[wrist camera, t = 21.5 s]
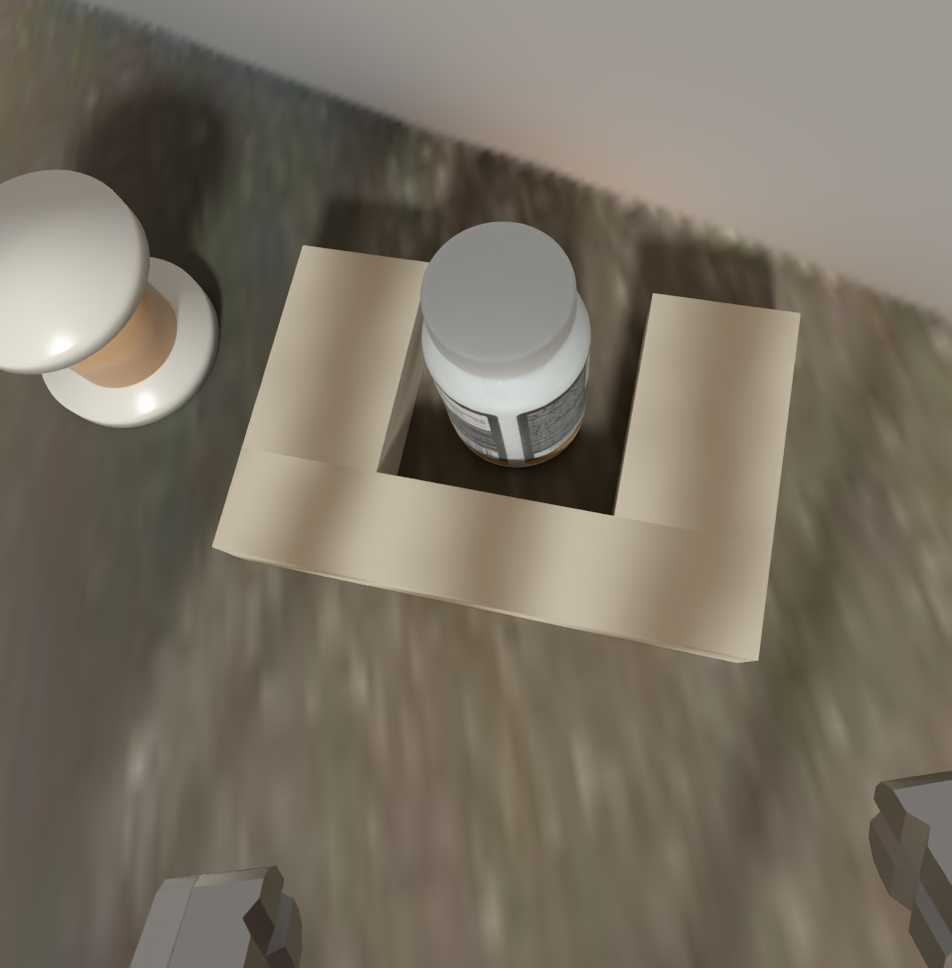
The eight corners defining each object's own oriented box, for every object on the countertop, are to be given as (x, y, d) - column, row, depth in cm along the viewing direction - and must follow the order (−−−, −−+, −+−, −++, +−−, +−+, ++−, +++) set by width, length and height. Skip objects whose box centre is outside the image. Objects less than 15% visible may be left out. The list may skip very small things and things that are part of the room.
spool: (28, 412, 34) (-103, 345, 27) (87, 257, 36) (-23, 158, 29) (189, 442, 33) (92, 379, 26) (240, 280, 34) (163, 182, 28)
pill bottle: (571, 334, 32) (576, 185, 22) (597, 459, 30) (614, 357, 21) (442, 358, 32) (392, 223, 23) (461, 483, 31) (416, 394, 21)
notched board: (244, 559, 31) (212, 546, 28) (324, 282, 34) (303, 245, 31) (737, 662, 28) (758, 660, 25) (777, 347, 31) (800, 313, 28)
